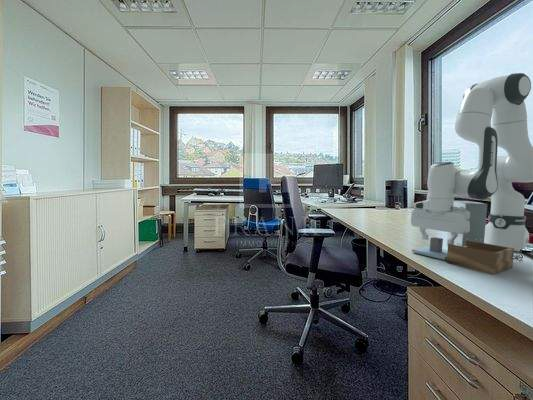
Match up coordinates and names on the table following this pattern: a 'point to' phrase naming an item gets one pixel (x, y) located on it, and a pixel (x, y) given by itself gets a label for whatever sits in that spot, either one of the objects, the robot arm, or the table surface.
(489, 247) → the walnut box
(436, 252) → the cover plate
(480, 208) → the hard drive box
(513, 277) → the table surface
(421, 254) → the felt mat
